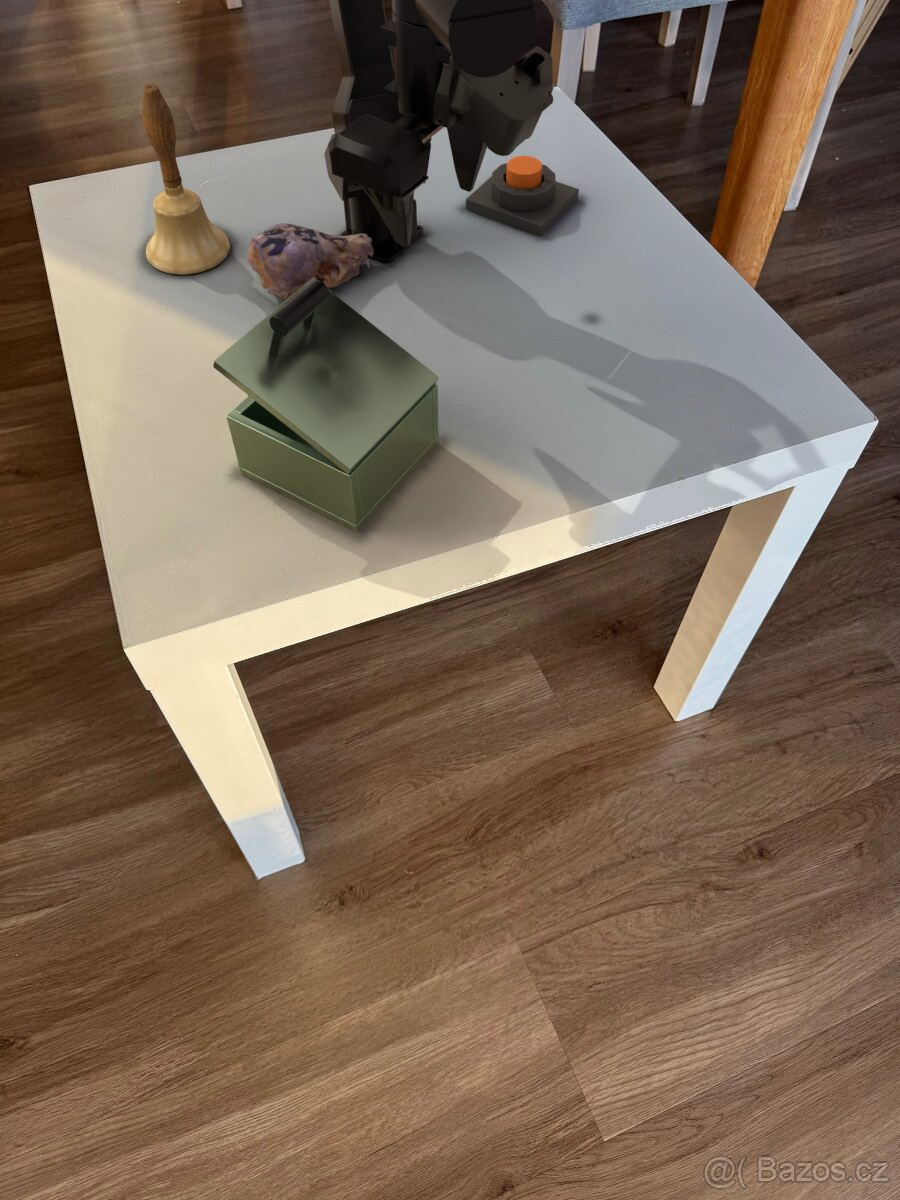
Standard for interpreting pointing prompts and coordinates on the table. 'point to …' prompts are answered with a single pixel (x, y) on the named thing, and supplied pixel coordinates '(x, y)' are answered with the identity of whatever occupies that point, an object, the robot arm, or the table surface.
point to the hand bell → (177, 203)
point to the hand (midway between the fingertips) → (435, 216)
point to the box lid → (327, 374)
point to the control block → (522, 201)
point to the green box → (317, 480)
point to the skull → (305, 257)
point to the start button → (524, 172)
